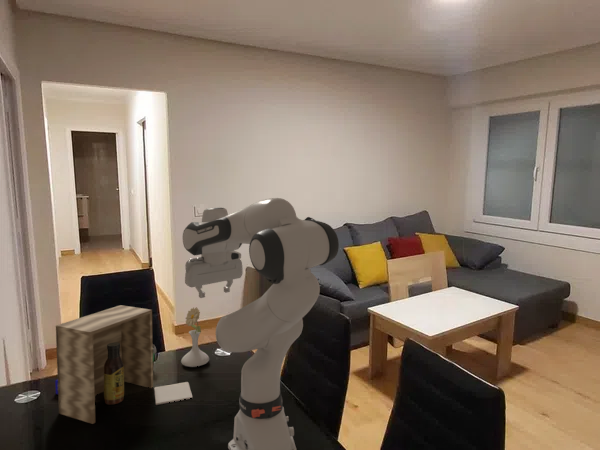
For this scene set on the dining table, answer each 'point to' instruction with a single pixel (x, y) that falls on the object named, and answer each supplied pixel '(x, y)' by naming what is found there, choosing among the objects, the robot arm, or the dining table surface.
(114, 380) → the sauce bottle
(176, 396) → the plate
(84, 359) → the cubby
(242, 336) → the robot arm
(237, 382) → the dining table surface
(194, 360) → the flower in vase
